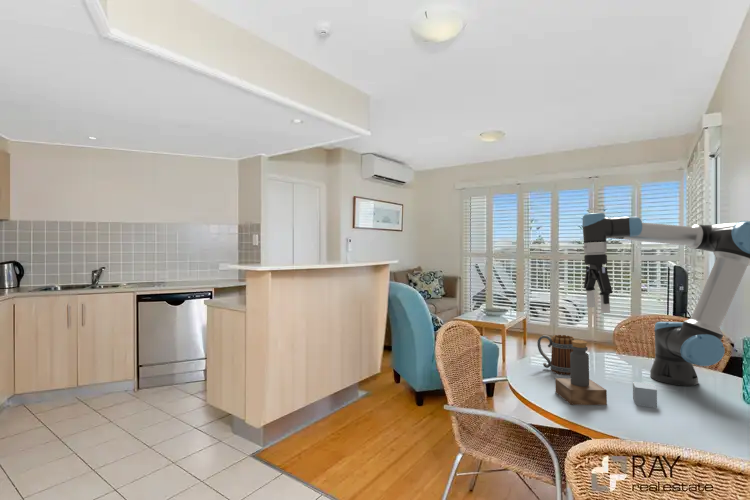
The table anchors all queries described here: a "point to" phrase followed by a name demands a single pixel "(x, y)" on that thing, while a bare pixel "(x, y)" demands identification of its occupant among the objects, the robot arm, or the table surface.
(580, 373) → the bottle
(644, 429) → the table surface
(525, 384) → the table surface
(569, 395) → the walnut block
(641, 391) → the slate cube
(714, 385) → the table surface
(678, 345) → the robot arm
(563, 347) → the mug
